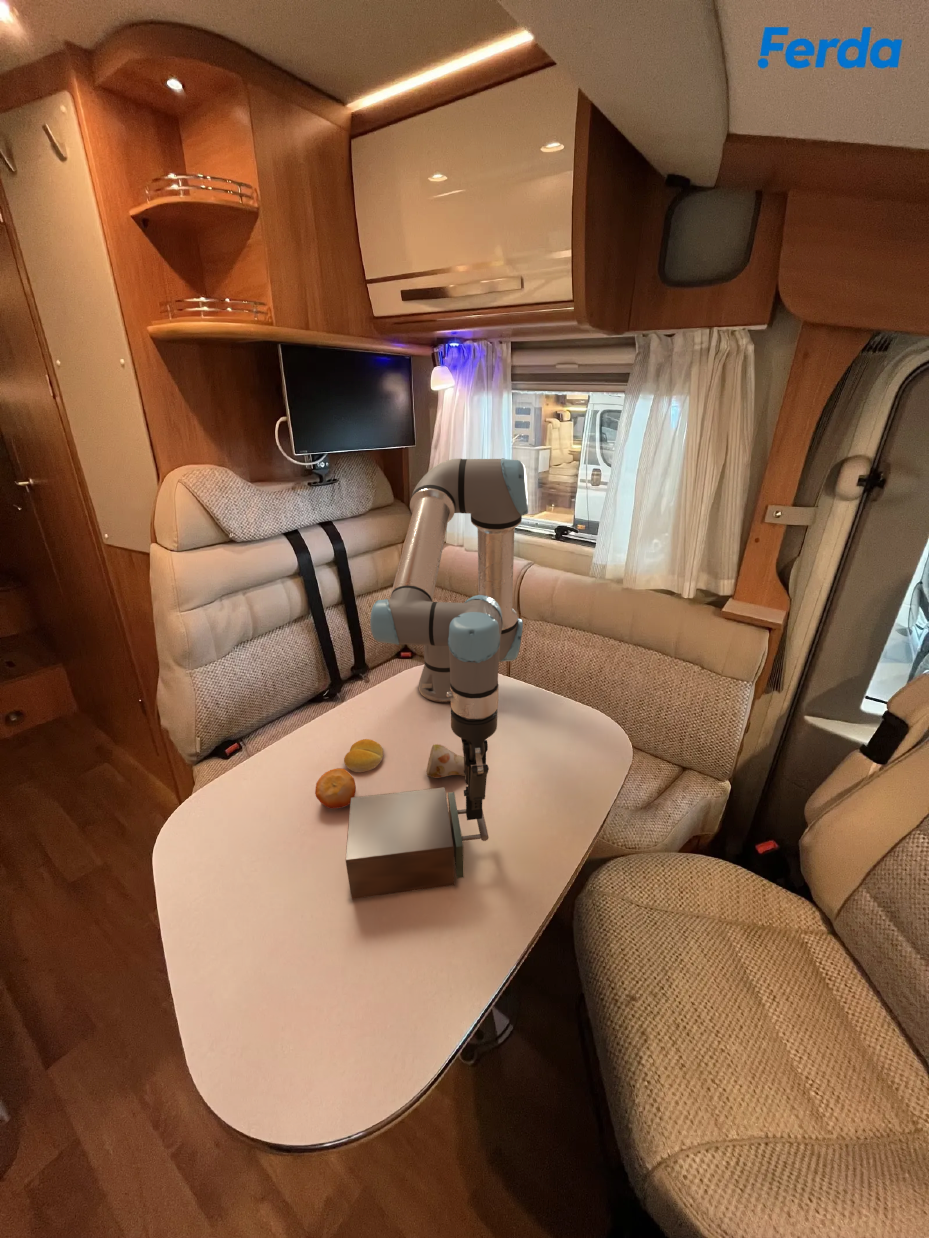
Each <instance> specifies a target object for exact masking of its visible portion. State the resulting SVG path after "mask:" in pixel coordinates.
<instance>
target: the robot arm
mask: <svg viewBox="0 0 929 1238" xmlns="http://www.w3.org/2000/svg"><path fill="white" fill-rule="evenodd" d="M528 492H529V491H528V479H527V471H526V467H525V464H524V463H523V462H522V461H521V460H519V459H508V458H452V459H447V460H445V461H442V462H440V463H438V464H436V465H435V466H434V467H432V468H431V469H430V470H429V471H427V472H426V473H425V474H424V475H423V476H422V477H421V478H420V480H419V481H418V483H417V484H416V485H415V488H414V489H413V491H412V494H411V496H410V497H411V498H410V501H409V509H410V512H411V516H410V520H409V523H408V528H407V532H406V535H405V539H404V543H403V546H402V550H401V555H400V557H399V562H398V566H397V570H396V573H395V578H394V581H393V585H392V589H391V593H390V597H389V598H385V599H378V600H376V601H375V602H374V604H372V608H371V612H370V620H369V621H370V623H369V624H370V631H371V635H372V637H373V639H374V640H375V641H376V642H378V643H384V644H390V645H397V646H399V645H409V646H410V645H413V646H414V645H416V646H423V662H424V665H423V667H422V671H421V674H420V678H419V682H418V690H419V693H420V694H421V696H423V697H424V698H425V699H427V700H429V701H431V702H435V703H450V728H451V730H452V733H454V735H455V736H457V737H459V738H460V741H461V743H462V744H461V745H462V747H461V748H462V755H463V757H464V773H465V775H466V776H465V779H464V783H465V785H466V786H465V789H463V796H464V797H465V809H466V814H465V815H466V821H475V820H477V819H482V810H483V800H485V799H486V790H487V789H486V788H487V778H488V773H489V769H490V768H489V765H488V764H487V752H488V749H489V743H488V739H489V738H490V737H492V736H493V735H494V734H495V732H496V731H497V729H498V708H499V668H500V667H499V664H500V663H503V662H514V661H515V660H516V659H517V658H518V656H519V653H520V648H521V643H522V636H523V629H524V622H523V619H521V618H519V616H518V613H517V611H516V610H515V609H514V608H513V591H514V590H513V589H514V561H515V560H514V559H515V533H516V532H515V531H516V530H515V529H516V528H517V527H518V526H519V525H520V524H521V523H522V519H523V517H524V516H525V515H528V514H529V495H528ZM455 514H470V523H471V524H472V525H473V526H474V527H475V528H477V573H478V574H477V580H478V581H477V582H478V584H477V585H478V586H477V587H478V588H477V589H478V591H477V592H478V594H477V595H473V596H471V597H469V598H467V599H466V600H465V601H464V602H451V601H450V602H447V601H445V602H444V601H434V597H435V591H436V586H437V580H438V575H439V571H440V570H439V569H440V565H441V559H442V555H443V554H442V553H443V548H444V543H445V539H446V532H447V528H448V523H449V522H451V520H452V519H453V518H454V516H455Z"/></svg>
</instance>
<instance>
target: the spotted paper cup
mask: <svg viewBox="0 0 929 1238" xmlns="http://www.w3.org/2000/svg"><path fill="white" fill-rule="evenodd" d="M430 749H431V750H430V753H429V757H428V762H427V766H426V776H428V777H430V778H433V779H434V778H435V779H438V778H445V777H449V776H455V775H457V776H463V777H466V775H465V773H464V756H462V755H459V754H457V753H455V752H454V751H452V750H451V749H450V748H448V747H446V746H444V745H442V744H438V743H437V744H433V745H432V746H431V748H430Z"/></svg>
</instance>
